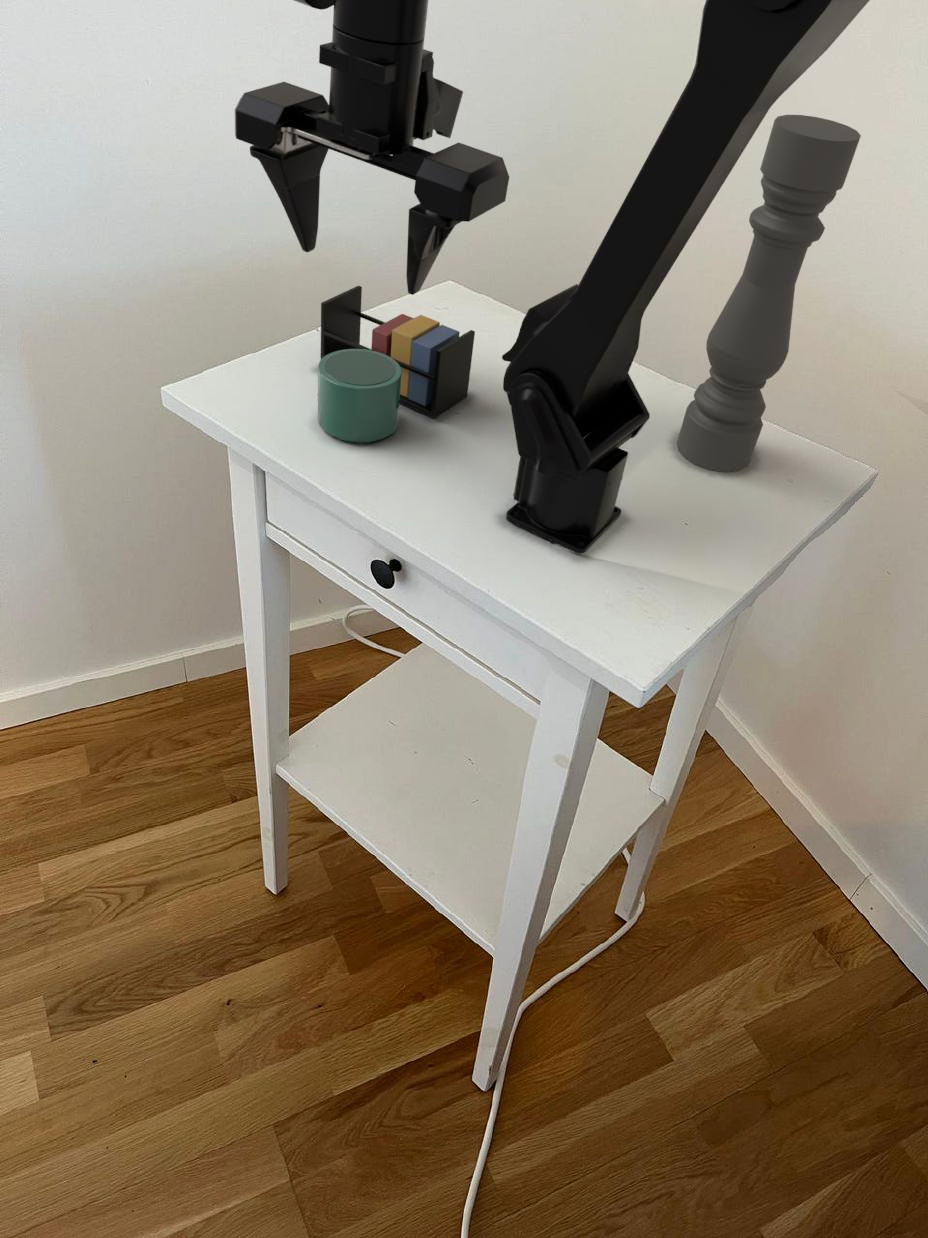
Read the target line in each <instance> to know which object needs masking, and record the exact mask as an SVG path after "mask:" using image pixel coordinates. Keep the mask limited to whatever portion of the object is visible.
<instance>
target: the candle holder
mask: <svg viewBox="0 0 928 1238" xmlns="http://www.w3.org/2000/svg"><path fill="white" fill-rule="evenodd" d="M769 134H770V135H769V137H768V141H767V145H766V147H765V151H764V154H763V158H762V161H761V165H760V167H759V168H760V169H759V170H760V171H761V174H762V178H761V179H760V185H761V188H762V199H763V200H764V201H763V202H764V203H763V204H762V205H759V206H757V207H755V208H754V209H753V210H752V211H751V212H750V213H749V217H748V222H749V225H750V227H751V229H752V234H753V237H752V238H753V239H752V242H751V244H750V248H749V251H748V255H747V258H746V261H745V265H744V268H743V271H742V274H741V276H740V277H739V280H738V282H737V283H736V285H735V286H734V288H733V290H732V292H731V294H730V295H729V298H728V299H727V301H726V303H725V305H724V307H723V309H722V310H721V312H720V314H718V315H719V316H718V317H717V319H716V321H715V323H714V324H713V326H712V328H711V330H710V332H709V333H708V336H707V338H706V347H705V348H706V354H707V359H708V362H709V365H710V368H709V371H708V373H709V375H710V376H709V377H708V378H707V379H706V380H705V381H704V382H702V383H700V384H699V385H698V386H697V388H696V390H695V391H694V393H693V398H694V399H693V400H691V401H690V402H689V404H688V405H687V407H686V409H685V412H684V417H683V420H682V423H681V427H680V430H679V434H678V437H677V440H676V446H677V450H678V452H679V453H680V454H681V456H682V457H684V459H685V460H687V461H688V462H690V463H693V464H694V465H695V466H698V467H700V468H704V469H706V470H709V471H714V472H724V473H730V472H731V473H732V472H738V471H741V470H743V469H745V468H747V467H748V466H749V464H750V462H751V460H752V457H753V454H754V452H755V448H756V446H757V443H758V440H759V438H760V434H761V432H762V429H763V427H764V423H763V421H762V417H763V416H764V413H765V411H766V406H767V405H766V402H765V399H764V396H763V393H762V391H761V390H762V389H764V388H765V385H766V384H767V381H768V380H769V379H771V378H773V377H774V375H776V374H777V373H778V372H779V371H780V369H782V367H783V365H784V363H785V361H786V359H787V357H788V354H789V351H790V342H791V341H790V338H791V330H792V320H793V310H794V309H793V308H794V300H795V290H796V284H797V281H798V278H799V276H800V272H801V269H802V266H803V263H804V260H805V258H806V254H807V252H808V248H810V247H811V246H812V244H813V243H815V242H817V241H819V240H821V237H822V236H823V234H824V232H825V229H826V227H825V225H824V224H823V222H822V221H821V219H820V217H819V215H820V214H821V213H823V212H824V210H825V209H826V207H827V206H828V205H829V204H831V203H832V202H833V200H834V199H835V198H836V197H837V191H840V190H842V188H843V187H844V185H845V183H846V180H847V177H848V173H849V171H850V168H851V165H852V162H853V159H854V157H855V153H856V151H857V148H858V145H859V143H860V139H861V137H862V135H861V134H860V133H859V132H858V130H856V129H855V128H852V127H850V126H849V125H847V124H844V123H840V122H838V121H834V120H831V119H827V118H823V117H818V116H812V115H805V114H784V115H779V116H777V117H775V119H774V120H773V124H772V127H771V131H770V133H769Z"/></svg>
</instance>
